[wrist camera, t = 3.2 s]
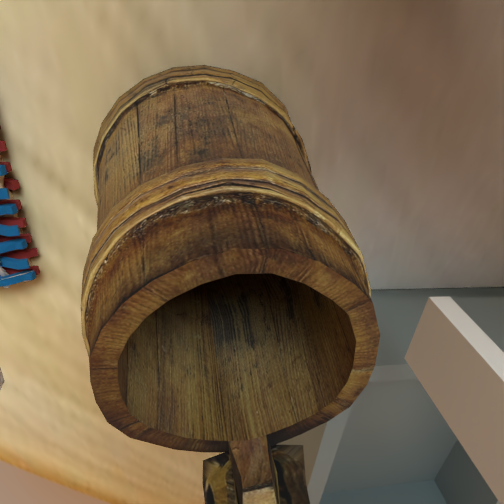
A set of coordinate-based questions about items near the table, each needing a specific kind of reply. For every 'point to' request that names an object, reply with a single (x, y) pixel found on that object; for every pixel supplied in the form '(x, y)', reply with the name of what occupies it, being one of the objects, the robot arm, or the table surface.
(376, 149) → the table surface
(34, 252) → the woven mat
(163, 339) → the wooden mug
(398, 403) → the bin
